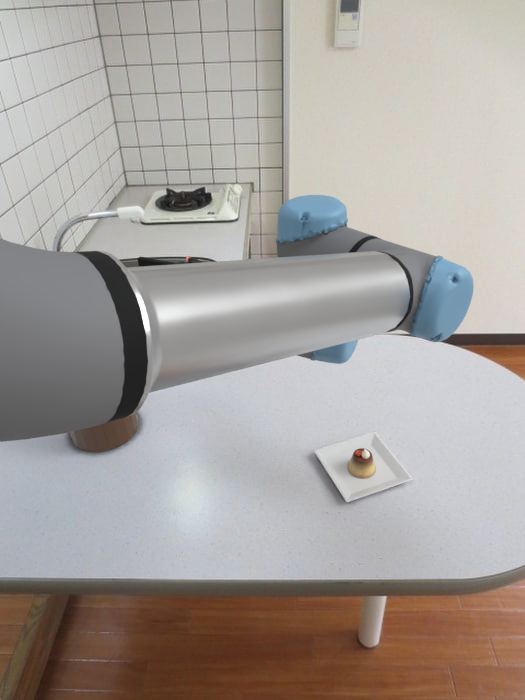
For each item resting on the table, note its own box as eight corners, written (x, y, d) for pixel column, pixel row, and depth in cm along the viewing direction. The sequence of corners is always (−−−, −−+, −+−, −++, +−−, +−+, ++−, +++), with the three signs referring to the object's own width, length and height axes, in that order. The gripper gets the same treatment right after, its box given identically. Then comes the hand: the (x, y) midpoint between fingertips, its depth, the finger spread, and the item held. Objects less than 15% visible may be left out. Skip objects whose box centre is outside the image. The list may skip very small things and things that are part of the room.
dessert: (313, 454, 90) (313, 434, 88) (374, 435, 94) (376, 415, 91) (346, 507, 81) (348, 486, 78) (413, 483, 84) (416, 462, 82)
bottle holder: (95, 462, 91) (86, 433, 87) (59, 431, 98) (48, 402, 94) (151, 425, 98) (145, 396, 94) (113, 399, 105) (106, 371, 101)
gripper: (192, 390, 61) (56, 350, 69) (280, 294, 79) (164, 272, 88) (184, 336, 57) (40, 300, 65) (279, 248, 75) (157, 229, 83)
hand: (111, 284), depth 76 cm, fingers open, 13 cm apart
